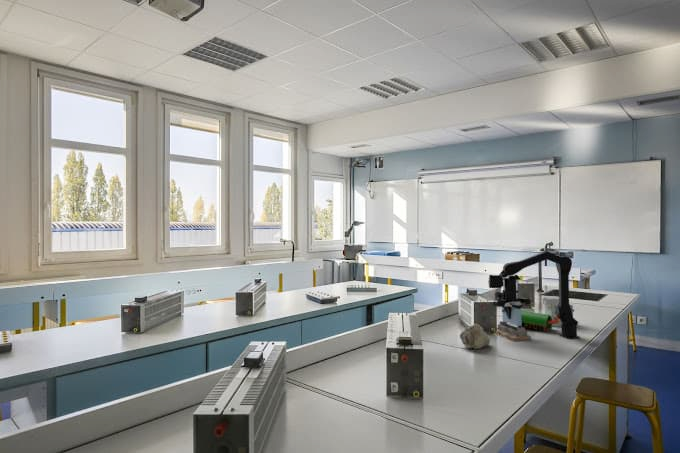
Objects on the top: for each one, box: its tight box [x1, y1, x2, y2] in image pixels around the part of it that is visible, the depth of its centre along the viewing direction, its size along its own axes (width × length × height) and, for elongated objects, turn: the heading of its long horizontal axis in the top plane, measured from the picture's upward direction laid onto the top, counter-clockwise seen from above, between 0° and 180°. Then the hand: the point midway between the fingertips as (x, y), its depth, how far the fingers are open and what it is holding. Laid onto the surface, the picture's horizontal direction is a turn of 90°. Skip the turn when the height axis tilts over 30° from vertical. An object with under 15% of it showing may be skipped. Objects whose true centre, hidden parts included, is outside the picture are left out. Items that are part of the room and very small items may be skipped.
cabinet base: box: [496, 320, 532, 341], centre depth 205 cm, size 20×10×6 cm, turn 12°
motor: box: [517, 310, 559, 332], centre depth 215 cm, size 10×9×20 cm
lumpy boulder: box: [459, 323, 491, 350], centre depth 188 cm, size 11×11×15 cm
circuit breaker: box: [542, 295, 575, 327], centre depth 224 cm, size 8×14×15 cm, turn 89°
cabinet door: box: [501, 306, 522, 327], centre depth 205 cm, size 12×3×8 cm, turn 12°
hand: (511, 318), depth 205 cm, fingers closed on cabinet door, 2 cm apart
